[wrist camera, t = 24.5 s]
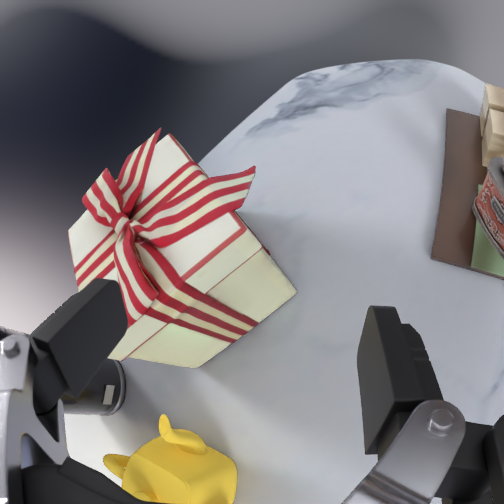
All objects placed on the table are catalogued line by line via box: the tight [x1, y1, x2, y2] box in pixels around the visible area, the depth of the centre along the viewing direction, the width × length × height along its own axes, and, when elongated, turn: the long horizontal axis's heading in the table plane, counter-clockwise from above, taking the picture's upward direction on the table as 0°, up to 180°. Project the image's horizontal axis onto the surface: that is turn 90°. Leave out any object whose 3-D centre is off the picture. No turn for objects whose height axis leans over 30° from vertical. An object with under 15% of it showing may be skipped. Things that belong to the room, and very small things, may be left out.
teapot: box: [103, 415, 237, 504], centre depth 23 cm, size 14×13×10 cm
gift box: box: [68, 128, 297, 368], centre depth 29 cm, size 17×18×17 cm
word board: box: [431, 84, 504, 280], centre depth 24 cm, size 12×22×7 cm, turn 158°
